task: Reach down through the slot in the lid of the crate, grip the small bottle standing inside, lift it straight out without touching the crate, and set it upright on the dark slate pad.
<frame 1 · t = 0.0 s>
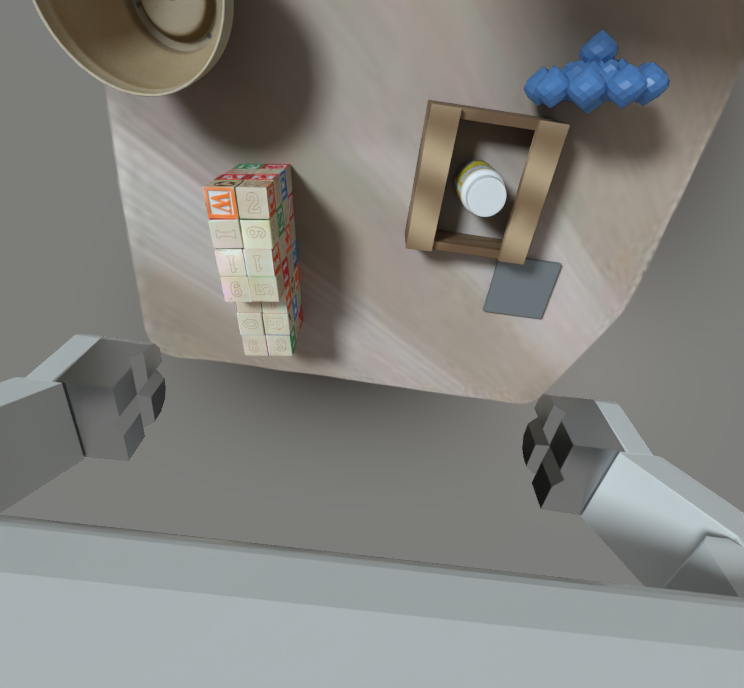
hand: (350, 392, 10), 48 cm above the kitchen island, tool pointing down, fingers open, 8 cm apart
crate: (474, 180, 53), on the kitchen island
slate pad: (520, 286, 60), on the kitchen island
stack of blocks: (274, 248, 59), on the kitchen island
supplement bottle: (473, 179, 53), resting in crate
grapes: (572, 72, 47), on the kitchen island
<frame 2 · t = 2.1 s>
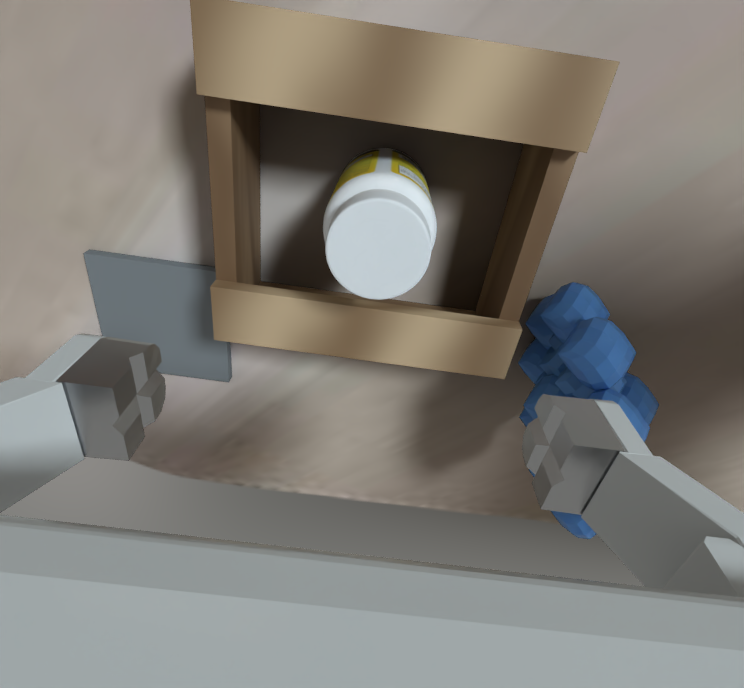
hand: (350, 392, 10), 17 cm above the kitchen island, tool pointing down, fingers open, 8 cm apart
crate: (383, 194, 24), on the kitchen island
slate pad: (166, 318, 28), on the kitchen island
supplement bottle: (383, 193, 24), resting in crate
grapes: (554, 342, 28), on the kitchen island
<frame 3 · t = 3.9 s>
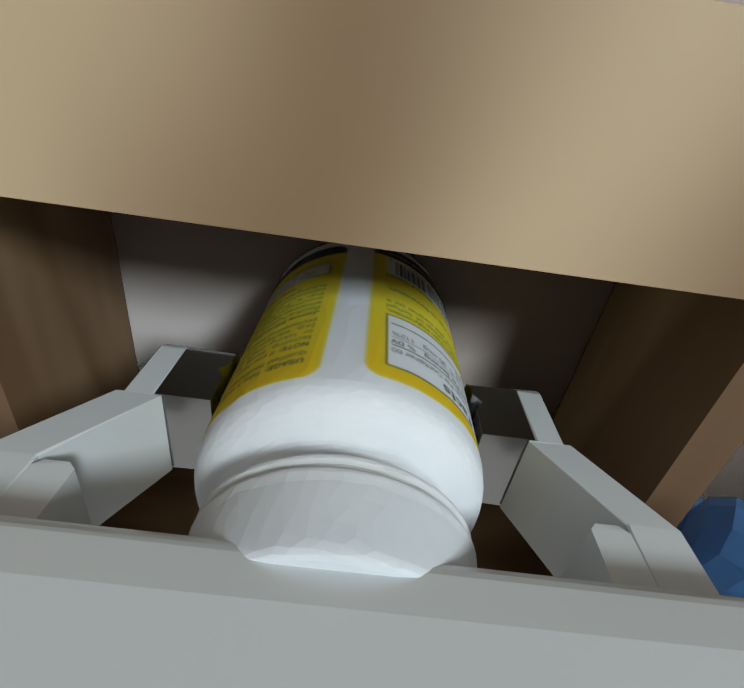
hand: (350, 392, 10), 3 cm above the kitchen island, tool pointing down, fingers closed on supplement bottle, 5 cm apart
crate: (359, 317, 13), on the kitchen island
supplement bottle: (359, 314, 13), resting in crate, touching gripper
grapes: (648, 526, 17), on the kitchen island
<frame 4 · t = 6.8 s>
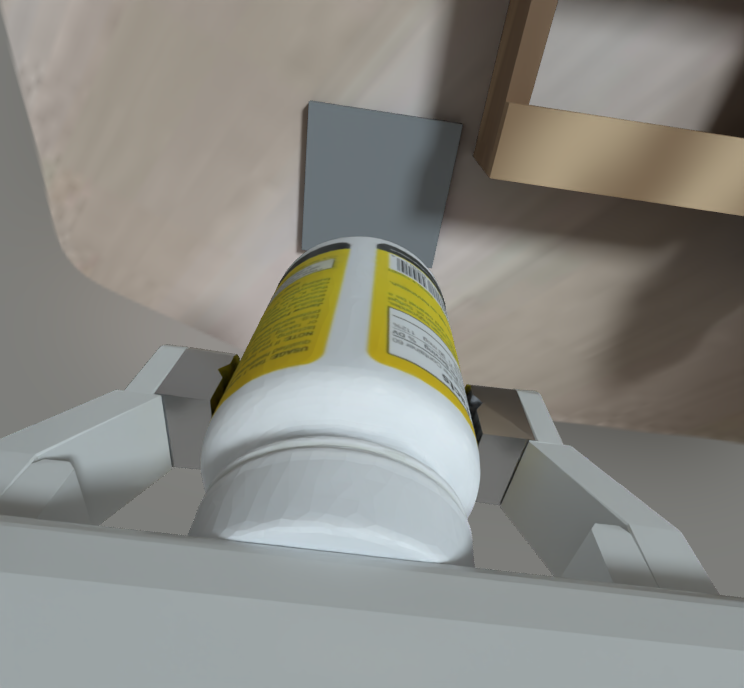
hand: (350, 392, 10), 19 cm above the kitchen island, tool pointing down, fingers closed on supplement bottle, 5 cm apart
crate: (668, 21, 21), on the kitchen island
slate pad: (376, 189, 26), on the kitchen island
supplement bottle: (361, 310, 13), point 15 cm above the kitchen island, touching gripper
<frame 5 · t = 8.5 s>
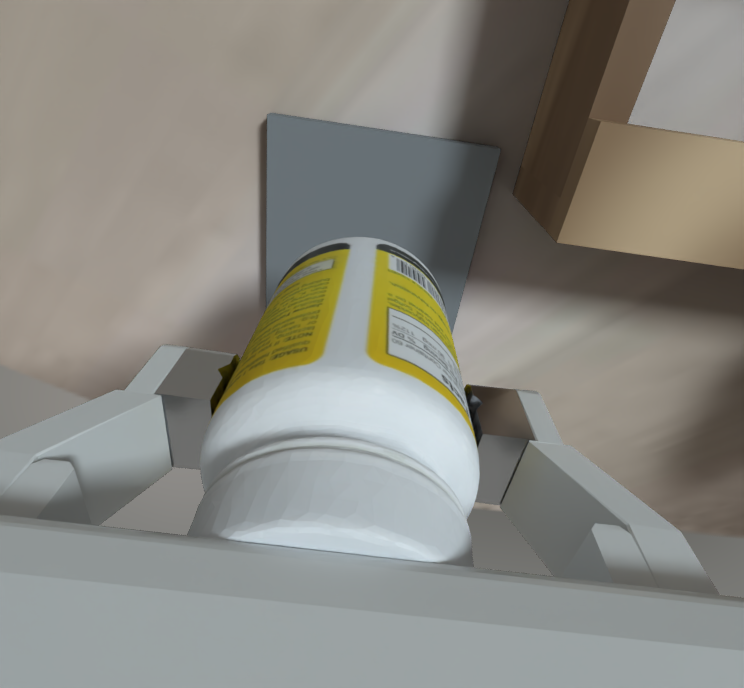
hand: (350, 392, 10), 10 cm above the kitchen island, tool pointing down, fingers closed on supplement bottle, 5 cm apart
slate pad: (370, 239, 18), on the kitchen island
supplement bottle: (361, 310, 13), point 6 cm above the kitchen island, touching gripper
when the fingers open (5 cm above the kitchen island, at t = 9.8 s): supplement bottle stays where it is, resting on slate pad.
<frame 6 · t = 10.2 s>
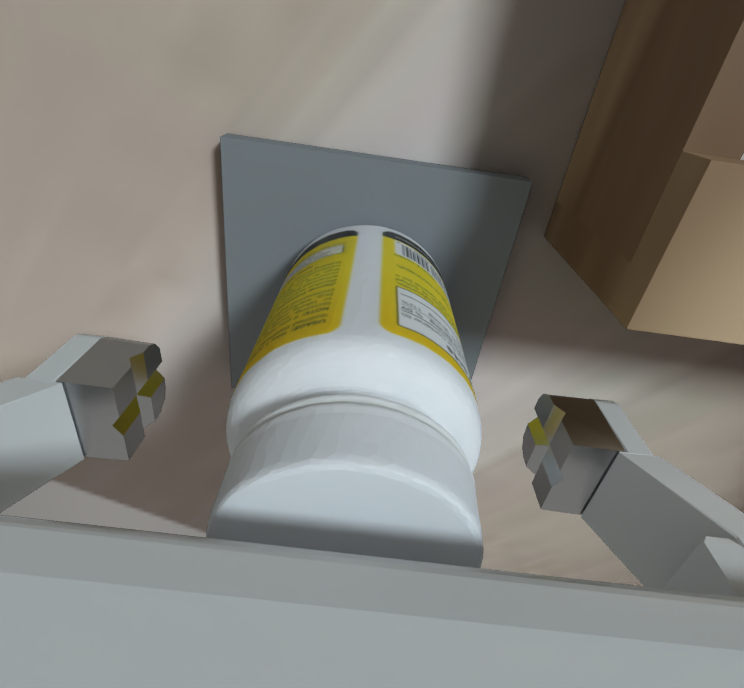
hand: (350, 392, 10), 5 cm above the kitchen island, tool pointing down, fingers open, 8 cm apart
slate pad: (361, 291, 14), on the kitchen island
supplement bottle: (366, 296, 14), resting on slate pad
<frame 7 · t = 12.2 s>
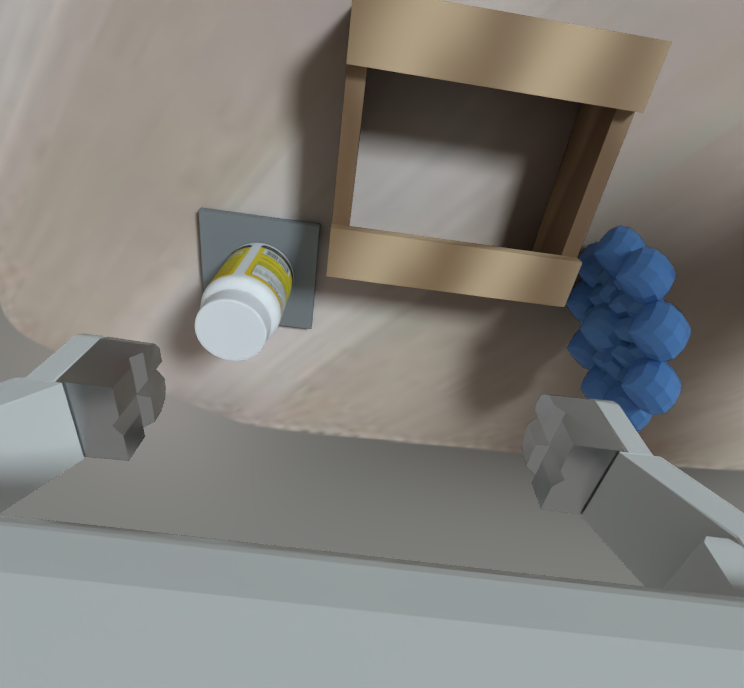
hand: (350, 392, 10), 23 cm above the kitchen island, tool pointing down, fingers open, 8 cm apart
crate: (460, 157, 29), on the kitchen island
slate pad: (260, 270, 33), on the kitchen island
supplement bottle: (262, 272, 32), resting on slate pad
grapes: (592, 287, 34), on the kitchen island
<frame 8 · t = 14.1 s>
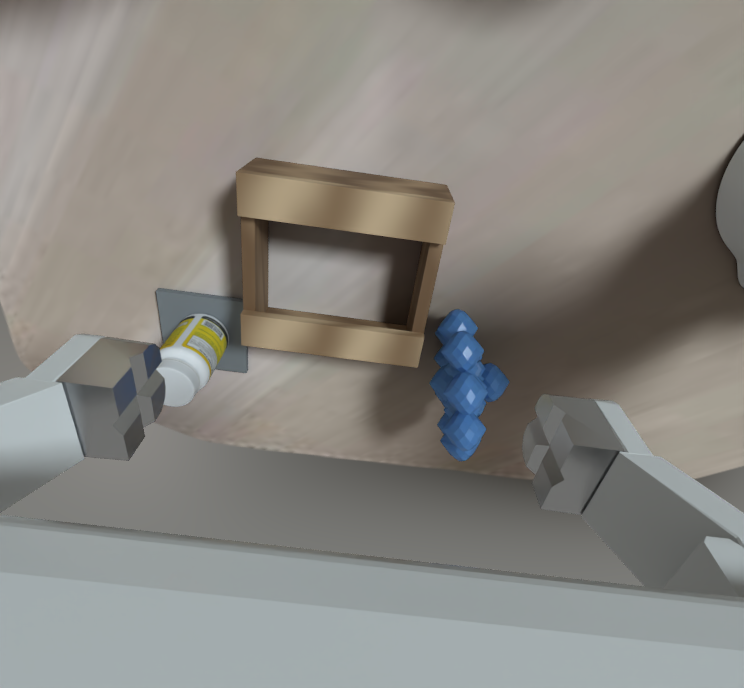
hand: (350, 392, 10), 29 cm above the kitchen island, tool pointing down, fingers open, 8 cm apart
crate: (343, 255, 39), on the kitchen island
slate pad: (205, 330, 43), on the kitchen island
supplement bottle: (206, 332, 43), resting on slate pad
grapes: (459, 344, 43), on the kitchen island
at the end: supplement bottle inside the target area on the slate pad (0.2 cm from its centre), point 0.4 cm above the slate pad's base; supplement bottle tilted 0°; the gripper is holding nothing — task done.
